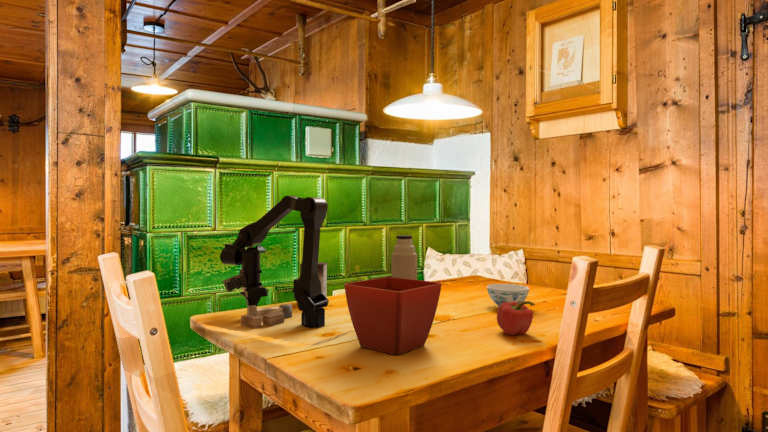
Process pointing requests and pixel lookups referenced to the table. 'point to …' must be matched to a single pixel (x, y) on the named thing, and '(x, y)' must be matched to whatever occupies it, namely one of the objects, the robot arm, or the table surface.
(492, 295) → the chinaware
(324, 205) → the robot arm
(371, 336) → the plant pot
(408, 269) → the thermos bottle
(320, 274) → the coffee box
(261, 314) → the leg
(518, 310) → the vegetable
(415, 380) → the table surface
